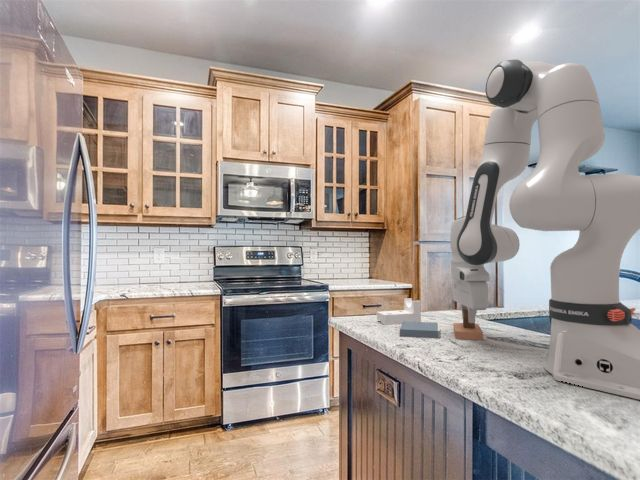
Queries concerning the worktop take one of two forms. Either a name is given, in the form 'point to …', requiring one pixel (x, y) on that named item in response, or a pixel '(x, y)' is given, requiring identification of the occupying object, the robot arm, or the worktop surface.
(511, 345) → the worktop surface
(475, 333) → the stub
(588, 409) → the worktop surface
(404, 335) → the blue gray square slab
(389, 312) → the bracket
